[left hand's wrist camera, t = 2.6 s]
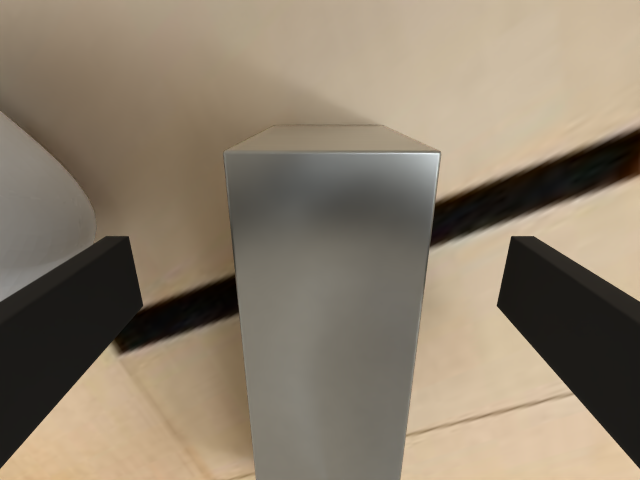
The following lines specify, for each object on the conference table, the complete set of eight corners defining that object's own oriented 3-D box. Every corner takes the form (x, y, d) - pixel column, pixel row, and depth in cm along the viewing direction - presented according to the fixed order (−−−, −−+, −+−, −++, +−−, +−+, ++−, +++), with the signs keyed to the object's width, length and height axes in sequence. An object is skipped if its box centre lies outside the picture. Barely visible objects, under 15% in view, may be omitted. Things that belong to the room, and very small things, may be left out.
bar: (273, 125, 17) (222, 150, 9) (384, 125, 17) (442, 150, 8) (289, 467, 26) (272, 643, 17) (362, 468, 26) (379, 645, 17)
